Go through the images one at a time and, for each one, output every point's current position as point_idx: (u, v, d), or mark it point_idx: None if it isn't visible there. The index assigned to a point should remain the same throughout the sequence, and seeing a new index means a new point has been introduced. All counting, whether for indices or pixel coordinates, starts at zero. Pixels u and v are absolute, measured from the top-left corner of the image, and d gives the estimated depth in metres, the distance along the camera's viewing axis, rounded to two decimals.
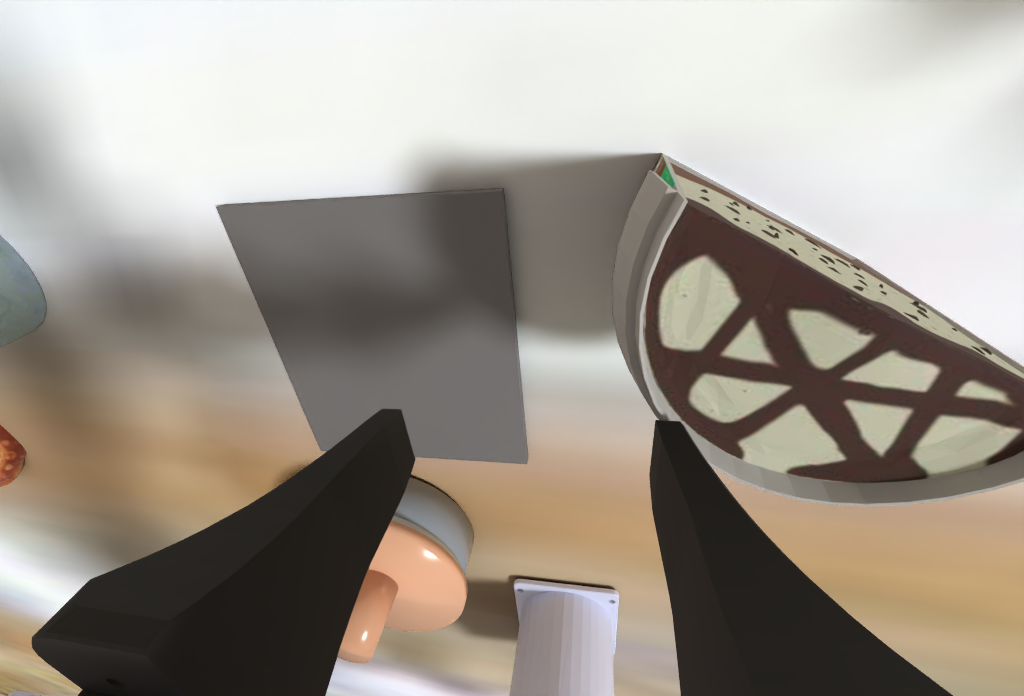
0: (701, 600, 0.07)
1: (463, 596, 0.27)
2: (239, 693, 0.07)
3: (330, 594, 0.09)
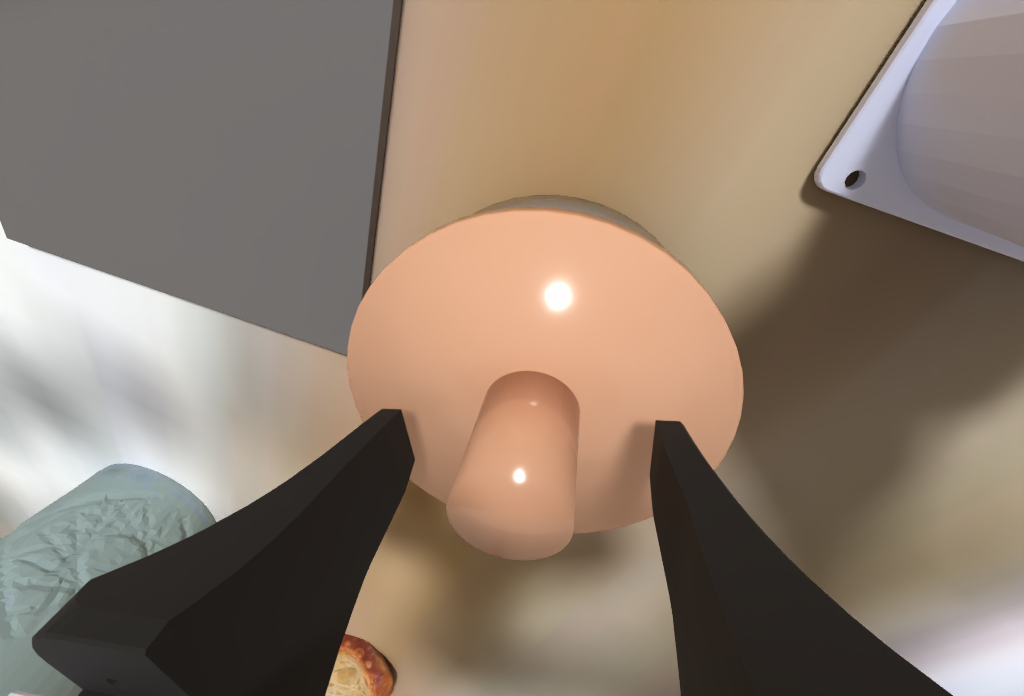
0: (701, 600, 0.07)
1: (618, 236, 0.10)
2: (239, 693, 0.07)
3: (330, 594, 0.09)
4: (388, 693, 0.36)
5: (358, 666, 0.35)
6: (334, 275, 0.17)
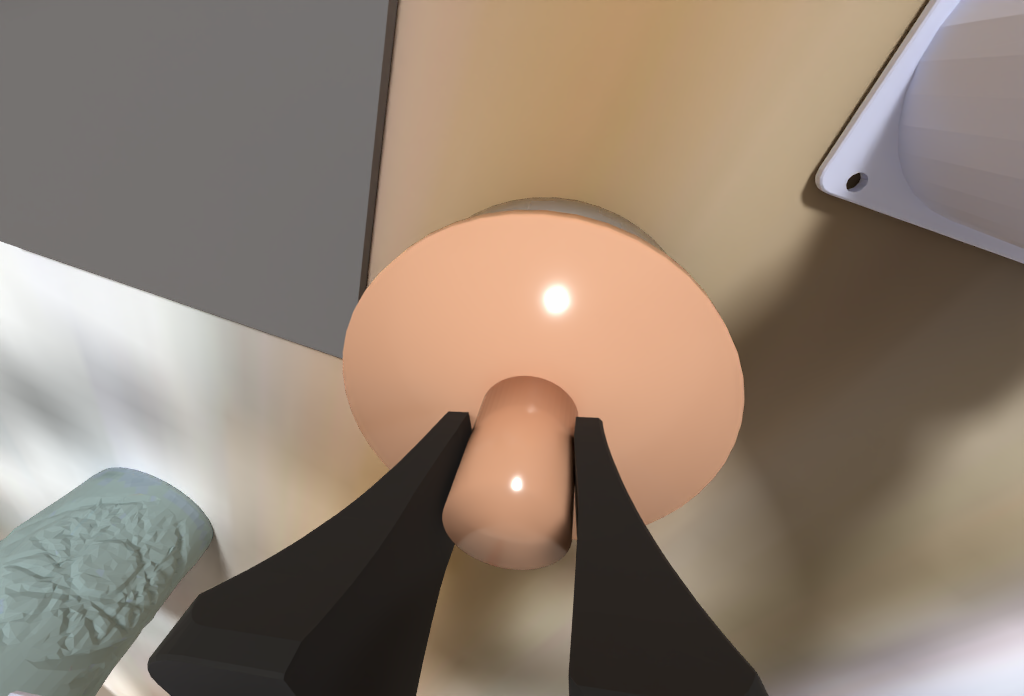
0: None
1: (617, 239, 0.10)
2: None
3: (416, 605, 0.09)
4: None
5: None
6: (330, 278, 0.17)
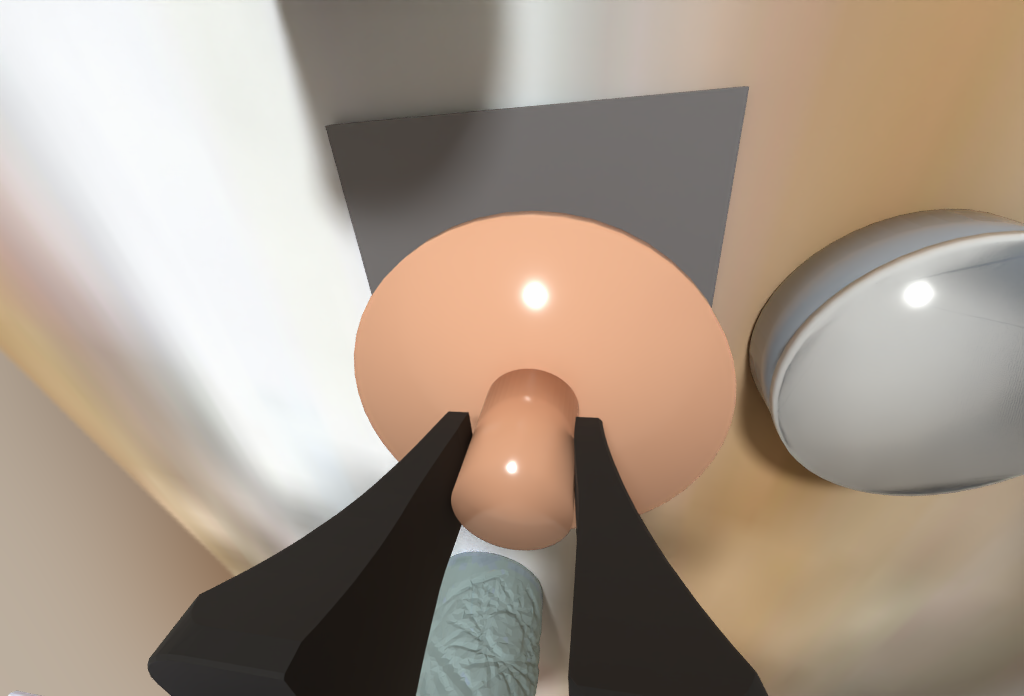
0: None
1: (602, 234, 0.11)
2: None
3: (416, 605, 0.09)
4: None
5: None
6: None
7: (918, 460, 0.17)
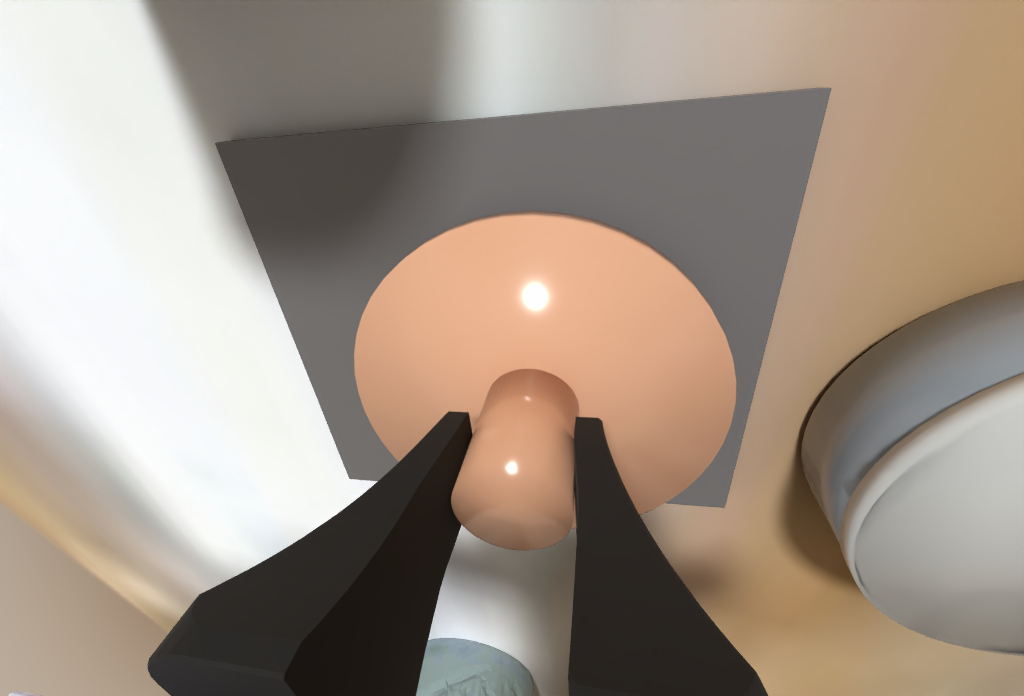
0: None
1: (602, 234, 0.11)
2: None
3: (416, 605, 0.09)
4: None
5: None
6: None
7: None
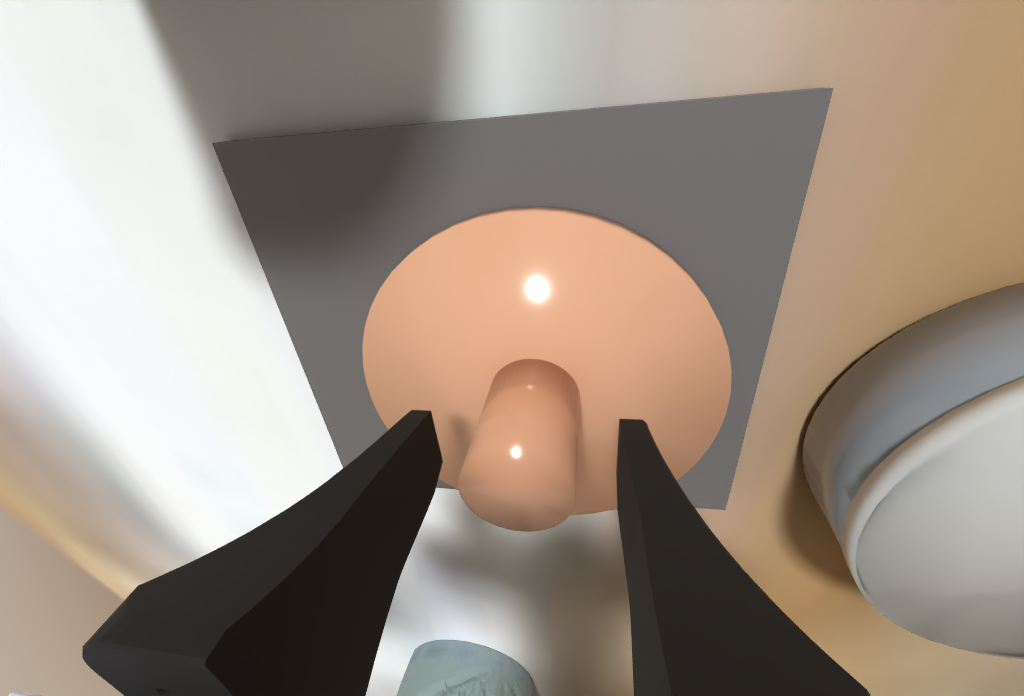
0: (643, 594, 0.07)
1: (603, 228, 0.11)
2: None
3: (368, 599, 0.09)
4: None
5: None
6: None
7: None
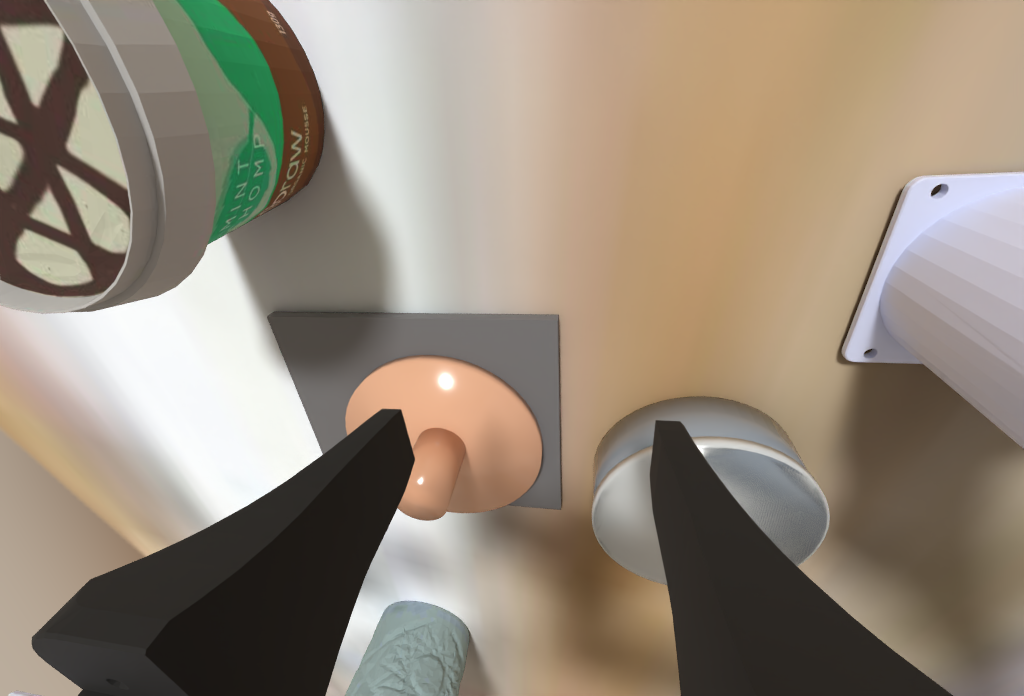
0: (701, 600, 0.07)
1: (464, 371, 0.22)
2: (239, 693, 0.07)
3: (330, 594, 0.09)
4: None
5: None
6: (540, 468, 0.26)
7: None
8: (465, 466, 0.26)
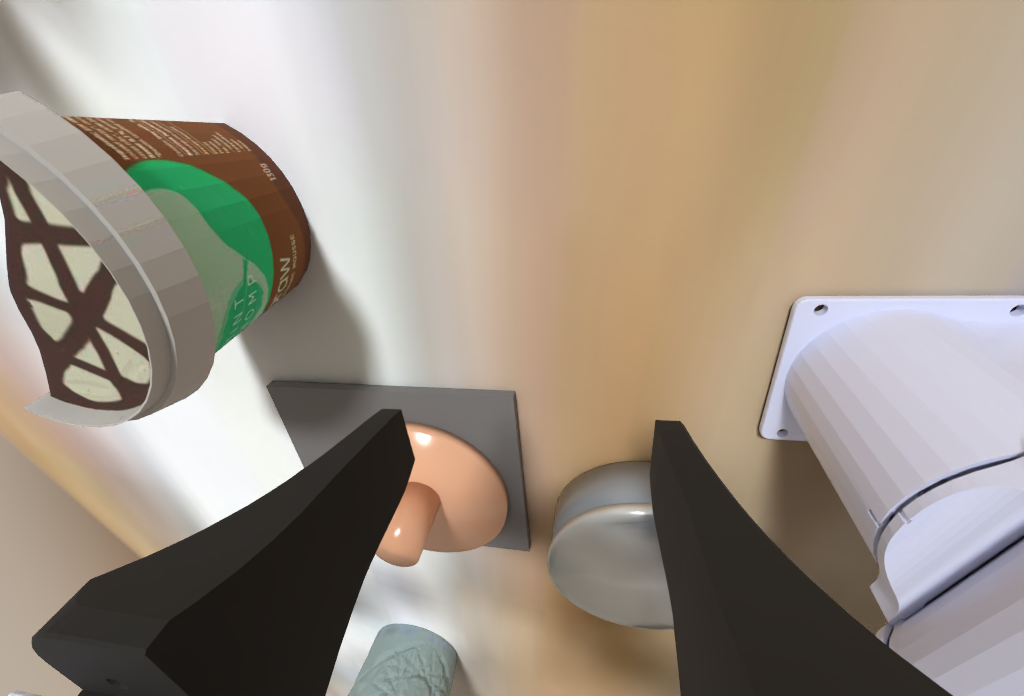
0: (701, 600, 0.07)
1: (435, 438, 0.26)
2: (239, 693, 0.07)
3: (330, 594, 0.09)
4: None
5: None
6: (508, 516, 0.29)
7: (644, 611, 0.26)
8: (441, 514, 0.29)
